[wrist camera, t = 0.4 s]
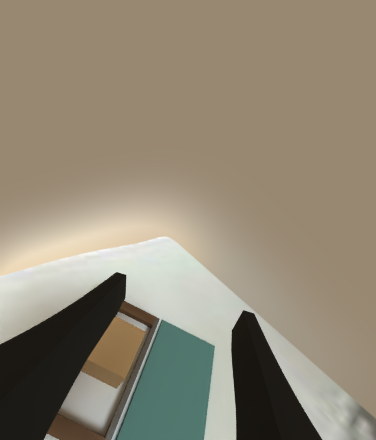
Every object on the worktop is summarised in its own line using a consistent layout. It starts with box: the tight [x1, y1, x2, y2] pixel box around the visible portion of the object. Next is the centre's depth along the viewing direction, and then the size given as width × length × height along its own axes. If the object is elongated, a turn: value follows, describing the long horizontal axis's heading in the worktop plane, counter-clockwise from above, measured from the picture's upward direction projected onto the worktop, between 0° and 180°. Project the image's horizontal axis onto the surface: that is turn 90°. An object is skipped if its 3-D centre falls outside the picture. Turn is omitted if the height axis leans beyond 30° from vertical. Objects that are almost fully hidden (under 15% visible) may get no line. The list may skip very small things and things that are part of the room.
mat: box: [117, 320, 215, 440], centre depth 21 cm, size 14×10×1 cm
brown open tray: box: [47, 301, 159, 440], centre depth 20 cm, size 13×10×4 cm
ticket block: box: [81, 317, 146, 388], centre depth 19 cm, size 4×6×8 cm, turn 73°
